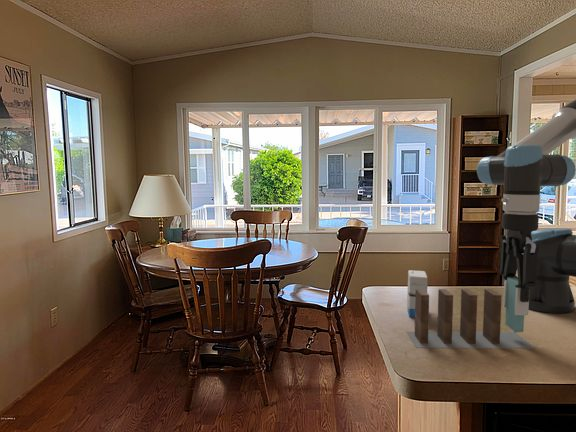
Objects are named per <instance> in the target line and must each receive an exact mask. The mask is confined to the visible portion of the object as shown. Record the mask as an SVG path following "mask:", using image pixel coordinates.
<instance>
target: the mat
mask: <svg viewBox="0 0 576 432" xmlns="http://www.w3.org/2000/svg"><path fill="white" fill-rule="evenodd" d="M405 332H406V335H407V336H408V338H409V339H410V341H411V342H412V344H413V346H414V348H415V349H419V348H420V349H426V348H427V349H536V347H535V346H534V345H533V344H531V343H530V342H529V341H527V340H526V339H525V338H524V337H522V336H521V335H520V334H519V333H518V332H515V331H500V344H491V343H490V342H489V341H488V340H487V339H486V338H485V337H484V336H483V331H476V344H468V343H467V342H466V341H465V340H464V339H463V338H462V337H461V336H460V331H452V344H444V343H443V342H442V341H441V339H440V338H439V337H438V336H437V331H428V344H420V342H419V341H418V339H417V338H416V336H415V331H405Z"/></svg>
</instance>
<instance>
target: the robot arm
mask: <svg viewBox="0 0 576 432" xmlns="http://www.w3.org/2000/svg"><path fill="white" fill-rule="evenodd" d="M574 139H576V99H574V100H572V101H570V102H568V103H566V105H563V106H562V107H561V108H559V109H557V110H556V111H555V112H554V113H553V114H552V116H551V119H550V120H549V119H548V121H546V122H545V123H544V124H542V125H541V126H539V127H537V129H535V130H533V131H532V132H530V133H529V134H528V135H526V136H524V137H523V138H521V140H519V141H517V142H516V143H515V144H513V145H509V146H508V147H507V148H506V149H505V150H504V151H502V152H501V153H500V154H498V155H490V156H485V157H483V158H481V159H480V161H478V164H477V166H476V174H477V178H478V179H479V181H480V182H481V183H482V184H485V185H493V186H498V185H499V186H501V185H503V193H502V194H503V195H502V196H503V197H502V198H501V199H500V200H501V202H502V210H503V211H504V212H503V213H502V214H501V228H502V229H503V230H506V231H507V232H506V235H503V234H502V235H500V244H501V246H500V262H499V263H500V266H499V274H500V276H502V279H503V280H504V283H503V299H502V303H503V304H502V307H503V308H506V298H507V277H511V278H517V279H518V285H515V287H516V297H515V315H524V316H529V310H533V311H538V312H542V313H552V314H554V313H555V314H562V313H563V314H564V313H571V312H573V311H574V310H575V305H576V302H575V301H576V300H575V297H574V295H573V290H572V288H571V285H570V277H574V278H576V234H573V233H574V232H573V230H572V228H565V227H564V228H544V229H543V228H542V229H541V228H540V229H539V218H540V216H539V215H538V213H539V212H540V205H541V204H540V202H541V187H560V186H565V185H567V184H569V183H571V181H572V180H573V178H574V177H575V175H576V165H575V162H574V160H573V159H572V158H571V157H569V156H566V155H562V154H559V153H558V154H551V153H553V151H555V150H556V149H557V148H559V147H560V146H562V145H563V144H565V143H566V142H567V141H569V140H574Z"/></svg>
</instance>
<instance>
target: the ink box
mask: <svg viewBox="0 0 576 432" xmlns="http://www.w3.org/2000/svg"><path fill="white" fill-rule="evenodd" d="M407 276H408V277H407V297H406V299H407V300H406V301H407V302H406V310H407V313H408V317H409V318H415V297H416V289H424V290H425V291H426V292H427V293H428V275H427V273H426V271H424V270H414V269H413V270H411V269H409V270H408V272H407Z"/></svg>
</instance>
